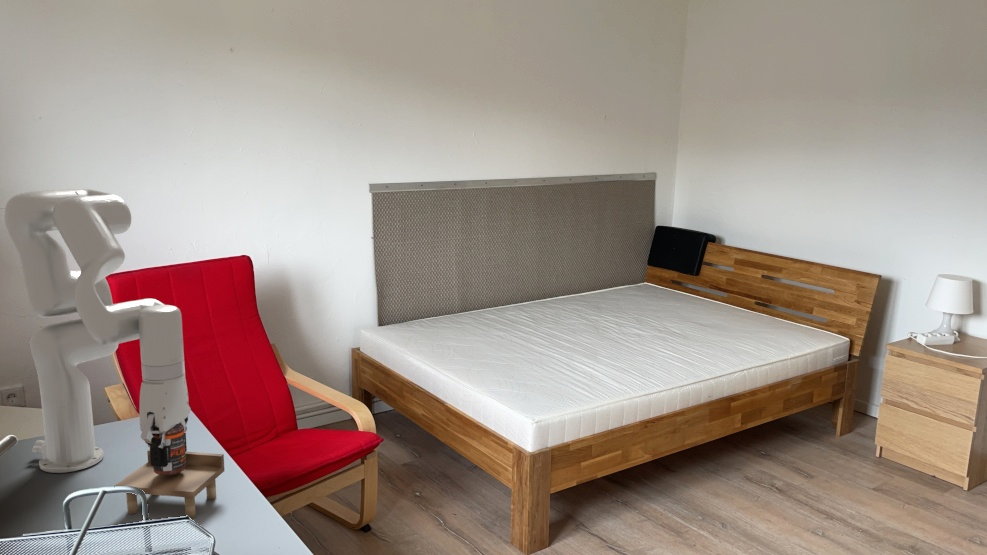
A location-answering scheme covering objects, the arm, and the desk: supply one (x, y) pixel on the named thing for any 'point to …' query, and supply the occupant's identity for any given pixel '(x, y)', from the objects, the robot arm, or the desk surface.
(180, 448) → the supplement bottle
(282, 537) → the desk surface
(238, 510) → the desk surface
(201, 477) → the peg shelf
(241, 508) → the desk surface
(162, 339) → the robot arm
